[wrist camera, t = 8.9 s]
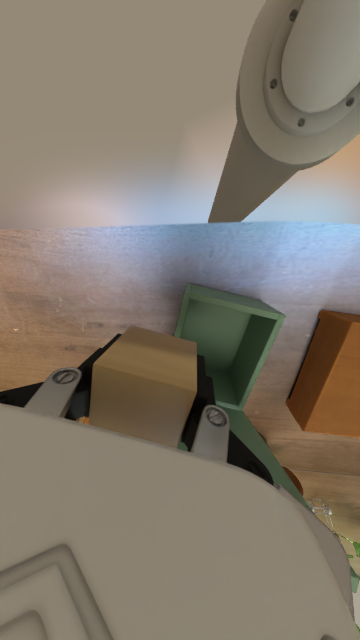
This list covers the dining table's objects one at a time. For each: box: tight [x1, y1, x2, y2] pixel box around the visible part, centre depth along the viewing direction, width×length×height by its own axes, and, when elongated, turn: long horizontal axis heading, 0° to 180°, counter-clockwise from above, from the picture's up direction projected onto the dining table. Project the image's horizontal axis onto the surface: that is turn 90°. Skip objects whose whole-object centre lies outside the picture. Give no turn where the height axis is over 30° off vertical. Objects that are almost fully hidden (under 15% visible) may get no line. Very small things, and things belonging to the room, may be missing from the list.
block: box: [88, 326, 197, 448], centre depth 10 cm, size 5×5×5 cm
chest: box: [174, 283, 286, 411], centre depth 27 cm, size 16×13×9 cm
